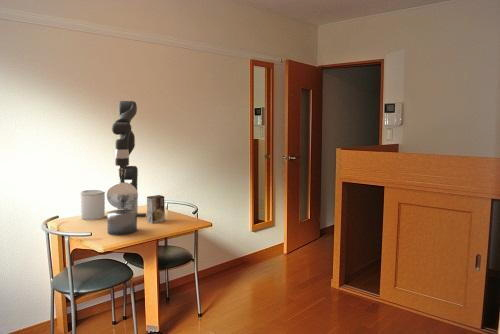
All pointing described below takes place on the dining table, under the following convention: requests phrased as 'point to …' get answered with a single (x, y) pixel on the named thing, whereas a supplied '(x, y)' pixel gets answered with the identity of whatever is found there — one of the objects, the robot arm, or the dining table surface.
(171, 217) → the dining table surface
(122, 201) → the pot lid
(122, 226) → the steel pot
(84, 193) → the utensil holder
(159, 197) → the coffee box
